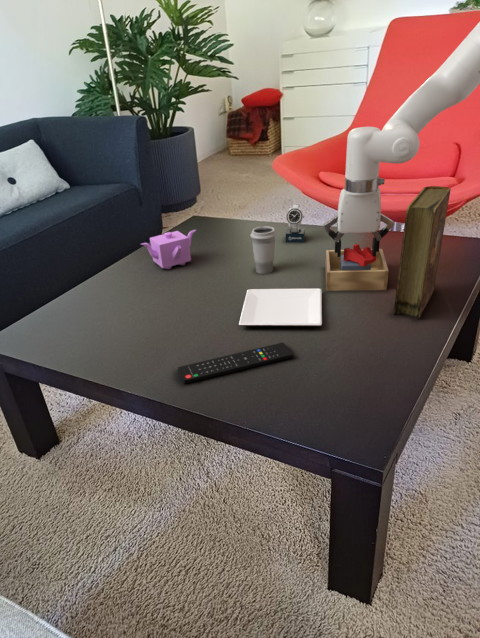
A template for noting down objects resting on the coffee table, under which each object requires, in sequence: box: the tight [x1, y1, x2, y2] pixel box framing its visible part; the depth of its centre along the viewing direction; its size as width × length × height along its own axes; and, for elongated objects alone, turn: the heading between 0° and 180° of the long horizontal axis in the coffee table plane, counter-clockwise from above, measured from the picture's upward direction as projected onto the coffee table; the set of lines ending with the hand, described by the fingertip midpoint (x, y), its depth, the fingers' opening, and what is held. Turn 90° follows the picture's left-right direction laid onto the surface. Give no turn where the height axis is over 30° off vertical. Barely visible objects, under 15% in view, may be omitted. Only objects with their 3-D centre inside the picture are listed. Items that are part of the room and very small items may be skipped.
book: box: [393, 185, 452, 320], centre depth 117 cm, size 16×6×25 cm, turn 148°
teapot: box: [140, 229, 197, 270], centre depth 156 cm, size 18×13×10 cm
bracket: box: [343, 243, 376, 267], centre depth 133 cm, size 6×5×3 cm
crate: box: [324, 248, 390, 292], centre depth 136 cm, size 15×15×6 cm
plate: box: [238, 288, 323, 327], centre depth 126 cm, size 19×19×2 cm
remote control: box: [177, 341, 294, 384], centre depth 109 cm, size 5×24×1 cm, turn 106°
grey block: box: [340, 255, 371, 271], centre depth 136 cm, size 7×7×5 cm
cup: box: [249, 225, 277, 275], centre depth 145 cm, size 7×7×12 cm
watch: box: [285, 204, 306, 244], centre depth 162 cm, size 6×8×11 cm
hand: (356, 254), depth 134 cm, fingers open, 8 cm apart
